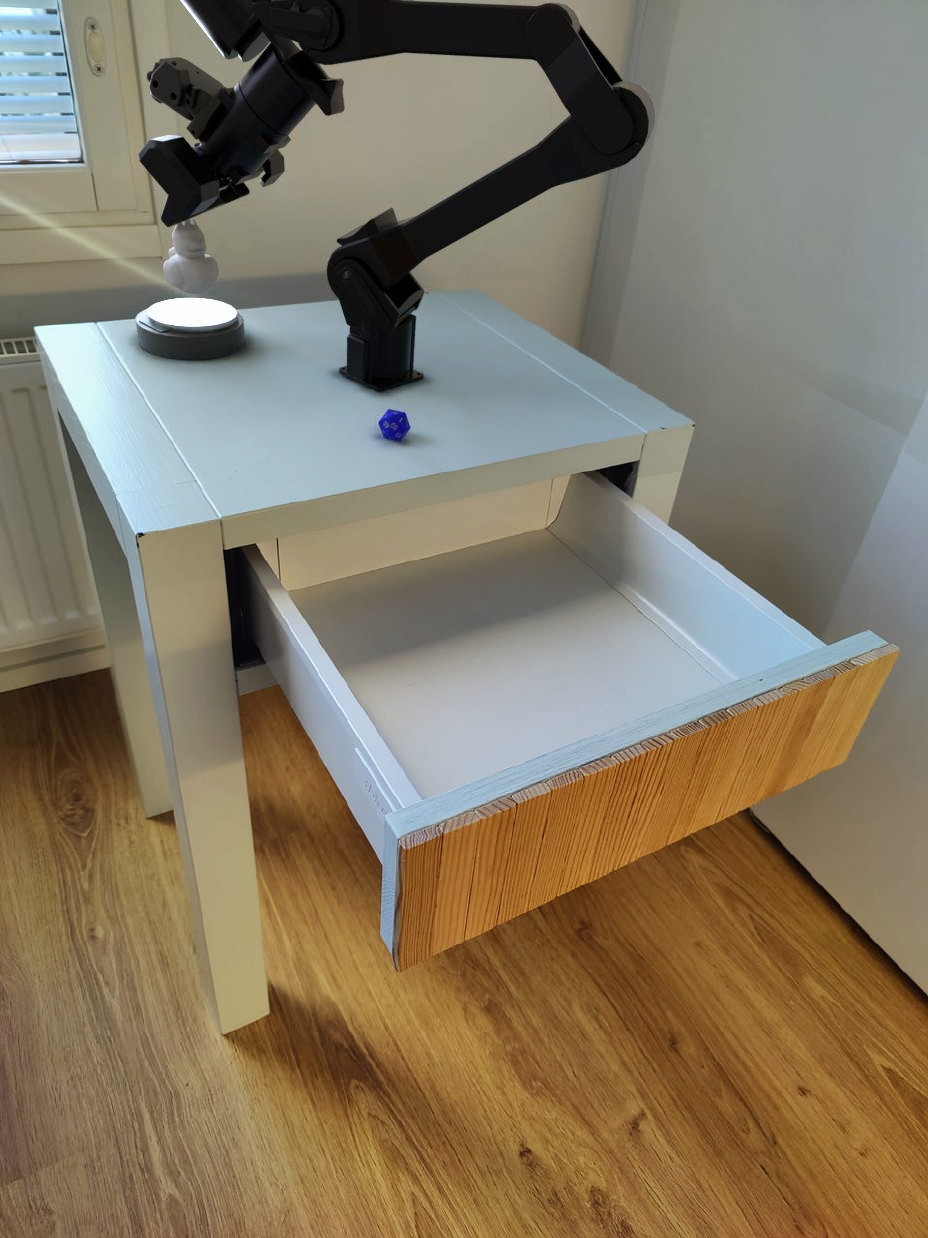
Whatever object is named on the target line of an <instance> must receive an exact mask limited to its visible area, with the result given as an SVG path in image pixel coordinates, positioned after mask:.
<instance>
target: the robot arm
mask: <svg viewBox="0 0 928 1238" xmlns="http://www.w3.org/2000/svg"><path fill="white" fill-rule="evenodd" d="M180 2H181V3H182V4H183V5H184V7H185V8H186V9H187V11H188V12H189V14H190V15H191V16H192V17H193V19H194V20H195V21H196V23H197V24H198V25H199V27H201V29H202V30H203V32H204V33H205V34H206V35H207V37H208V38H209V40H211V41H212V43H213V44H214V45H215V48H217V50H218V51H219V52H220V54H221V55H222V56H223V57H224V59H226V60H228V61H229V60H233V59H236V58H239V59H240V60H241V61H242V63H247V62H250V61H252V60H254V59H255V58H256V57H258V58H257V59H256V60H255V62H254V63H253V64H252V65H251V66H250V68H249V69H248V70H247V72H246V73H245V74H244V75H243V76H242V77H241V79H239V81H238V82H237V84H236V85H235V86H233V87H232V86H231V87H227V86H224V84H223V83H222V82H221V81H219V80H218V79H216V78H215V77H213V76H212V75H211V74H209V73H207V72H206V71H204V69H201V68H200V67H198V66H197V65H196V64H194V63H193V62H191V61H190V60H188V59H186V58H183V57H178V56H177V57H167V58H166V57H164V58H159V59H158V61H156V62H154V66H153V68H152V70H151V71H150V70H149V71H148V72H147V73H146V79H147V82H149V84H148V88H149V91H150V97H151V98H152V99H153V100H154V101H155V102H157V103H158V104H163V105H165V106H166V107H167V108H169V109H170V110H173V111H174V112H175V113H177V114H178V115H179V116H181V117H183V118H184V119H186V120H187V121H190V122H189V124H188V125H187V126H186V128H185V129H186V130H187V131H188V132H189V133H190V135H191V136H192V137H193V139H194V140H196V141H197V140H198V142H195V143H194V146H193V147H192V145H191V144H190V143H189V142H188V141H187V139H186V138H185V137H184V136H181V135H174V134H167V135H162V136H158V137H154V138H150V139H148V140H147V142H146V143H145V145H144V146H143V147H142V149H141V150H140V151H139V153H138V154H137V157H138V161H139V162H140V164H141V165H142V166H143V168H144V169H145V170H146V171H147V172H148V173H149V174H150V176H151V177H152V178H153V179H154V180H155V182H156V183H157V184H158V185H159V186H160V188H161V189H162V190H163V191H164V192H165V194H167V197H166V200H165V203H164V206H163V209H162V212H161V214H160V220H161V222H162V223H163V224H164V226H165V227H166V228H171V227H174V226H176V225H177V224H178V223H181V222H182V223H185V220H188V219H190V220H192V219H194V218H195V217H198V216H201V215H202V214H205V213H207V212H211V211H212V210H216V209H217V208H220V207H222V206H224V205H227V204H229V203H233V202H234V201H237V200H239V199H241V198H244V197H246V196H249V195H250V193H251V191H250V189H249V187H248V186H247V184H246V183H245V182H248V181H251V180H254V179H256V178H259V177H260V176H261V174H262V173H263V172H264V174H263V175H262V176H261V177H260V179H259V182H258V183H259V184H260V185H261V186H262V188H266V187H268V186H270V185H273V184H275V183H276V181H278V180H279V178H280V177H281V176H282V175H283V174H284V173H285V172H286V169H285V168H286V167H285V156H284V155H283V154H282V152H281V151H280V149H283V148H286V147H287V146H288V144H289V143H290V141H292V139H291V137H290V134H291V133H292V132H293V131H294V130H295V129H296V127H297V126H298V125H299V124H300V123H301V122H302V121H303V119H304V118H305V117H306V116H307V115H308V114H309V113H310V112H311V111H312V109H313V108H314V107H315V106H316V105H317V107H318V109H320V111H321V112H322V113H323V115H324V116H326V117H330V116H333V115H338V114H342V113H344V111H345V109H346V108H345V107H346V106H345V98H344V92H343V91H344V85H345V81H344V79H343V78H333V77H331V76H329V75H328V73H327V72H326V70H325V69H324V68H323V67H322V65H323V66H333V65H334V66H335V65H340V64H347V63H353V62H354V63H355V62H361V61H366V60H372V59H377V58H384V57H389V56H394V55H401V54H415V55H416V54H417V55H435V56H454V57H455V56H456V57H471V58H472V57H474V58H494V59H510V60H511V59H512V60H513V59H514V60H529V61H530V60H532V61H534V62H536V63H537V64H538V66H539V67H540V68H541V69H542V72H543V73H544V74H545V76H546V77H547V79H548V81H549V83H550V84H551V86H552V88H553V89H554V91H555V93H556V95H557V97H558V98H559V100H560V101H561V103H562V105H563V107H564V108H565V110H566V112H568V113H569V115H568V116H567V117H566V118H564V120H562V121H561V122H560V123H558V125H557V126H556V127H555V128H553V130H551V131H550V132H549V133H548V134H547V135H546V136H544V137H543V139H542V140H540V141H539V142H538V143H536V144H535V145H533V146H532V147H530V148H528V149H526V150H525V151H524V152H522V153H520V154H518V155H516V156H515V157H512V159H510V160H508V161H506V162H504V163H503V164H501V165H499V166H498V167H496V168H494V169H492V170H491V171H489V172H488V173H486V174H484V175H483V176H481V177H479V178H477V179H476V180H474V181H472V182H471V183H469V184H468V185H466V186H464V187H462V188H461V189H459V190H458V191H455V192H453V193H452V194H451V195H449V196H447V197H446V198H443V199H442V200H441V201H438V202H437V203H435V204H434V205H432V206H430V207H429V208H427V209H425V210H423V211H421V212H420V213H418V214H417V215H414V216H411V217H409V218H408V217H407V218H405V219H404V218H403V219H401V220H398V218H397V216H396V212H395V209H394V208H393V207H389V208H388V209H386V210H384V211H383V212H381V213H379V214H377V215H375V216H374V217H372V218H370V219H369V220H368V221H367V222H365V223H364V224H360V225H359V226H357V227H355V228H353V229H352V230H350V231H348V232H346V233H345V234H343V235H341V236H340V237H338V238H337V239H336V243H337V244H338V245H340V246H338V247H336V249H334V250H333V251H332V252H331V254H329V256H328V258H327V265H326V277H327V279H326V280H327V282H328V285H329V287H330V289H331V292H332V293H333V294H334V295H335V297H336V298H337V299H338V301H339V302H338V303H339V305H340V308H341V311H342V314H343V317H344V320H345V323H346V325H347V326H349V334H347V336H346V365H345V366H340V367H338V374H340V375H342V376H344V377H346V378H347V379H350V380H352V381H354V382H356V383H359V384H361V385H363V386H364V387H366V388H369V389H371V390H373V391H375V392H378V393H383V392H386V391H390V390H394V389H397V388H400V387H403V386H407V385H410V384H412V383H415V382H419V381H422V380H424V377H425V374H424V373H423V372H420V371H418V370H416V369H415V368H414V363H415V345H416V343H415V342H416V327H417V315H415V314H413V312H414V311H417V310H418V309H419V307H420V305H421V303H422V300H423V297H424V295H425V289H424V288H423V286H421V284H420V283H419V281H418V280H417V279H416V277H415V276H414V275H413V274H412V271H414V269H416V268H417V267H418V266H419V265H421V264H422V263H423V262H424V261H425V260H426V259H427V258H429V257H431V256H433V255H434V254H436V253H438V252H441V251H442V250H443V249H445V248H447V247H449V246H451V245H452V244H454V243H456V242H458V241H460V240H461V239H463V238H465V237H467V236H468V235H471V234H472V233H474V232H476V231H477V230H479V229H481V228H483V227H484V226H486V225H488V224H490V223H492V222H493V221H495V220H497V219H499V218H501V217H503V216H504V215H506V214H508V213H510V212H512V211H513V210H516V208H519V207H521V206H522V205H524V204H526V203H527V202H529V201H531V200H533V199H535V198H536V197H538V196H540V195H542V194H544V193H545V192H547V191H549V190H550V189H553V188H556V187H557V186H561V185H565V184H569V183H573V182H576V181H581V180H583V179H588V178H591V177H593V176H596V175H599V174H602V173H605V172H608V171H611V170H616V168H617V169H618V168H620V167H623V166H625V165H627V164H629V162H631V161H633V159H635V158H636V157H637V156H638V154H640V152H641V151H642V150H643V148H644V147H645V146H646V144H647V143H648V142H649V140H650V138H651V135H652V133H653V130H654V127H655V119H656V111H655V107H654V102H653V100H652V98H651V97H650V95H649V93H648V92H647V91H646V90H645V89H644V88H643V87H642V86H640V85H639V84H637V83H634V82H632V81H627V80H624V79H623V78H622V76H621V74H620V73H619V72H618V71H617V69H616V68H615V67H614V65H613V64H612V62H611V61H610V59H608V57H607V56H606V55H605V54H604V52H603V51H602V50H601V49H600V47H599V46H598V45H597V44H596V42H595V41H594V40H593V39H592V38H591V36H590V35H589V34H588V32H587V31H586V30H585V28H584V27H583V25H582V24H581V23H580V20H579V18H578V16H577V14H576V12H575V11H574V9H572V7H570V6H569V5H568V4H564V3H560V2H546V3H545V2H544V3H543V4H538V5H530V4H529V5H528V4H527V5H526V4H525V5H524V4H505V3H503V4H500V3H479V2H478V3H476V2H456V1H433V0H432V1H429V0H180ZM295 43H297V44H298V45H299V47H298V46H297V44H295Z"/></svg>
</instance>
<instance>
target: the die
mask: <svg viewBox="0 0 928 1238" xmlns="http://www.w3.org/2000/svg"><path fill="white" fill-rule="evenodd" d="M385 411H386V412H385V413H384V414H383V415H382V416H381V418H380V419H379V420H378V422H377V423H378V426H379V429H380V432H381V434H382V437H383V439H386V440H391V441H397V442H401V441H402V440H403V439H404V438H405V436H407V434H408V433H409V431H410V430H411V425H410V422H409V419H408V415H407V413H406V412H405V411H400V410H395V409H391V408H388V409H387V410H385Z"/></svg>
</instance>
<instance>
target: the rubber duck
mask: <svg viewBox="0 0 928 1238" xmlns="http://www.w3.org/2000/svg"><path fill="white" fill-rule="evenodd" d="M171 238H172V244H173V246H172V247H170V248H169V249H168V256H169V259H166V260H165V261H164V262H163V266H162V268H163V273H164V277H165V280H166V281H167V283H168V284H170V285H171V286H172V287H174V288H175V289H177V290H178V291H180V292H182V293H184V294H187V295H192V296H199V295H204V294H207V293H210V292H211V291H213V290H214V289H215V288H216V287H217V282H218V280H219V275H220V270H219V264H218V261H217V260H216V259H215V258H214V256H212V255H210V254H207V253H206V251H207V243H206V237H205V234H204V232H203V231H202V229H201V228H200V226H199V225H198V223H197V221H196V220H195V218H191V219H188V220H185V221H184V222H181V223H178V224H176V225H175V227H174V229H173V231H172V234H171Z"/></svg>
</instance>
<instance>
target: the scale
mask: <svg viewBox="0 0 928 1238" xmlns="http://www.w3.org/2000/svg"><path fill="white" fill-rule="evenodd" d="M244 320H245V319H244V317H243V316H242V315H241V313H239V312H238V310H237V308H235V307H234V306H233V305H231V304H229V303H226V302H223V301H220V300H215V299H210V298H198V297H182V298H172V299H167V300H163V301H159V302H156V303H154V304H152V305H151V306H150V307H148V308H146V309H144V310H142V311H140V312H139V313H138V314H137V315H136V316H135V328H136V333H137V343H138V345H139V346H140V347H141V349H142V350H144V351H146V352H147V353H150V354H152V355H155V356H158V357H161V358H167V359H173V360H184V361H199V360H200V361H201V360H211V359H217V358H218V359H219V358H223V357H226V356H229V355H232V354H234V353H237V352H238V351H240V350H241V349H243V348H244V346H245V343H246V337H245V321H244Z"/></svg>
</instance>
